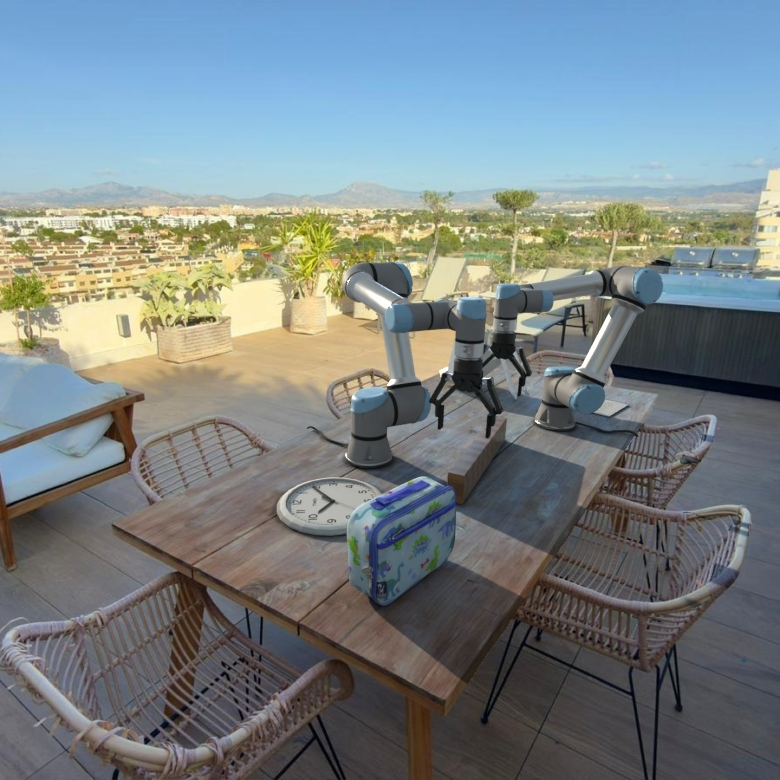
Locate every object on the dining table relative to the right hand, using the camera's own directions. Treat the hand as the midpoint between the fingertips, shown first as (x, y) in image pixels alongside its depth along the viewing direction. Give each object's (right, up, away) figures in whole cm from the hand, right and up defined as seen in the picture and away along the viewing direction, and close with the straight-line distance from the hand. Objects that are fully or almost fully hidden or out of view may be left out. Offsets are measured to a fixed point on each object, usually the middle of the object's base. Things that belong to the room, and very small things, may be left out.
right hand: (499, 392), depth 179 cm
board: (-9, -24, -12) cm, 28 cm away
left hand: (-17, -11, -36) cm, 41 cm away
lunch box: (-35, -40, -65) cm, 84 cm away
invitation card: (+54, -6, +47) cm, 72 cm away
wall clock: (-53, -31, -37) cm, 72 cm away
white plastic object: (+4, 0, +64) cm, 64 cm away
